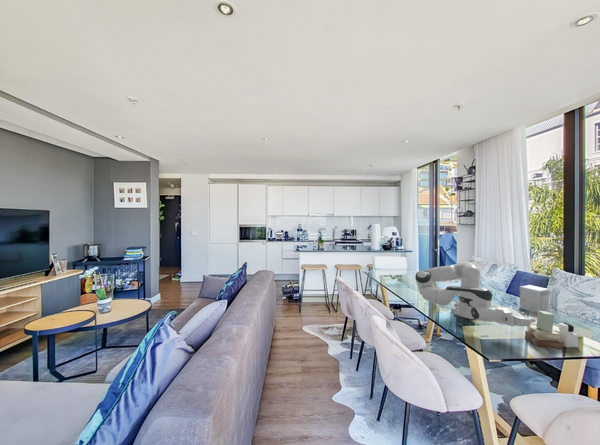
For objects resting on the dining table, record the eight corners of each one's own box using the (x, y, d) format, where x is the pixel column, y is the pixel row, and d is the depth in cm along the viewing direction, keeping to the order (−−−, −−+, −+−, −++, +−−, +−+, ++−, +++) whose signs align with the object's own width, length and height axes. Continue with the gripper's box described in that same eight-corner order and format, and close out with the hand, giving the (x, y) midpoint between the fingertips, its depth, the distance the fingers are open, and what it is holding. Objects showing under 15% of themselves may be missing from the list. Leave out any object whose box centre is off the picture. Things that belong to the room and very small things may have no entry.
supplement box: (549, 311, 204) (550, 289, 203) (539, 313, 199) (539, 290, 199) (529, 305, 217) (529, 284, 216) (518, 307, 212) (519, 286, 211)
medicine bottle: (565, 341, 158) (566, 321, 157) (578, 347, 151) (579, 326, 150) (553, 341, 157) (554, 321, 157) (566, 347, 150) (566, 326, 150)
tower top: (527, 331, 161) (528, 325, 161) (547, 333, 159) (547, 326, 159) (538, 339, 152) (539, 332, 151) (559, 341, 149) (559, 334, 149)
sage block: (536, 326, 158) (538, 310, 157) (545, 328, 157) (547, 311, 157) (542, 330, 153) (544, 313, 153) (552, 331, 152) (554, 314, 152)
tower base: (525, 338, 163) (525, 330, 162) (547, 339, 160) (548, 332, 160) (537, 347, 151) (538, 340, 151) (562, 350, 148) (563, 342, 148)
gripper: (493, 313, 169) (518, 315, 166) (512, 327, 149) (541, 329, 146) (494, 304, 169) (519, 305, 166) (513, 316, 149) (541, 318, 146)
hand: (529, 317), depth 156 cm, fingers open, 8 cm apart
